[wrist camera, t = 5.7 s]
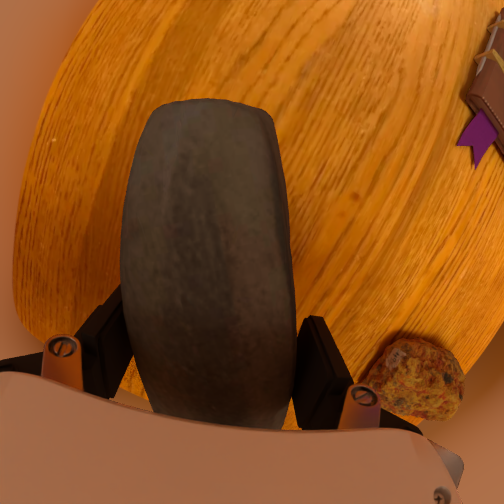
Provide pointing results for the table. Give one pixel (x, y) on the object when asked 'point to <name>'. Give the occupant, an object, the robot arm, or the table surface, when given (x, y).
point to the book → (487, 96)
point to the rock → (418, 380)
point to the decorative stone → (210, 265)
